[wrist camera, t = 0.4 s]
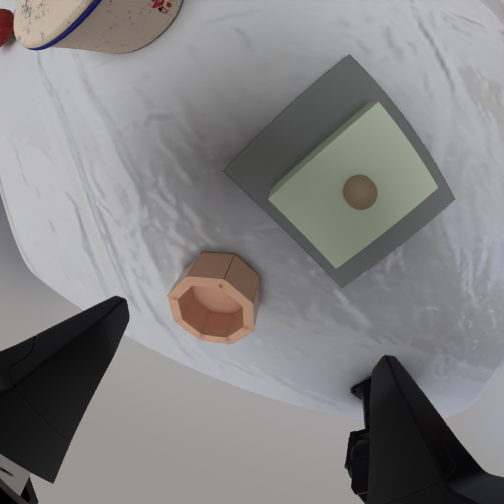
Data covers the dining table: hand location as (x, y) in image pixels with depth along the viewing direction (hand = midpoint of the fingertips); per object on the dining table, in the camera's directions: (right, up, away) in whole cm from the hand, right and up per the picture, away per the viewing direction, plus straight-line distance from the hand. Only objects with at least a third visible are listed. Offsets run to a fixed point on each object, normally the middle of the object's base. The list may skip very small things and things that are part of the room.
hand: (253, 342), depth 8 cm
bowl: (-3, 0, +15) cm, 16 cm away
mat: (+7, +8, +9) cm, 14 cm away
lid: (+7, +8, +9) cm, 13 cm away
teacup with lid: (-10, +23, +4) cm, 25 cm away
